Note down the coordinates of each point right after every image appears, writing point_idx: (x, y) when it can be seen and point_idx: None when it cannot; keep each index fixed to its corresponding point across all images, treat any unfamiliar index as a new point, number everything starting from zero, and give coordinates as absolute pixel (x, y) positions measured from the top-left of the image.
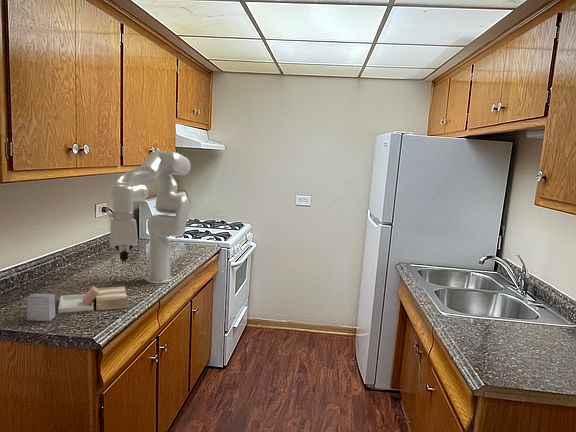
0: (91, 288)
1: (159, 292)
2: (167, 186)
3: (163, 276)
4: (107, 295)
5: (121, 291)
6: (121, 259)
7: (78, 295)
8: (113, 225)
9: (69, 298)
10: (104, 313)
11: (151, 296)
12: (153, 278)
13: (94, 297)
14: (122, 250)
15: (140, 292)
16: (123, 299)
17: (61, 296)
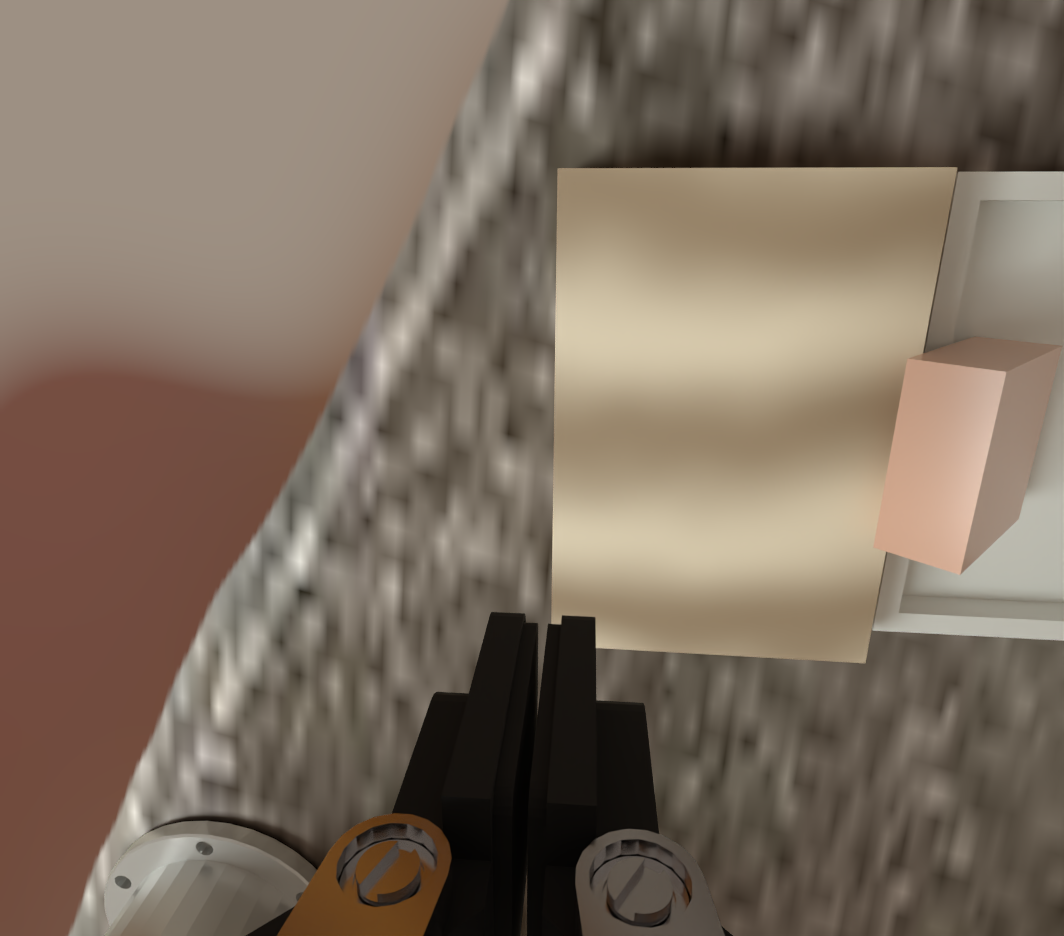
0: (978, 531)
1: (227, 594)
2: None
3: (162, 893)
4: (784, 351)
5: (601, 469)
6: (608, 704)
7: (1033, 618)
8: None
9: None
10: (831, 39)
11: (303, 496)
12: (265, 900)
13: (940, 349)
14: (579, 893)
15: (403, 642)
16: (604, 170)
17: None
